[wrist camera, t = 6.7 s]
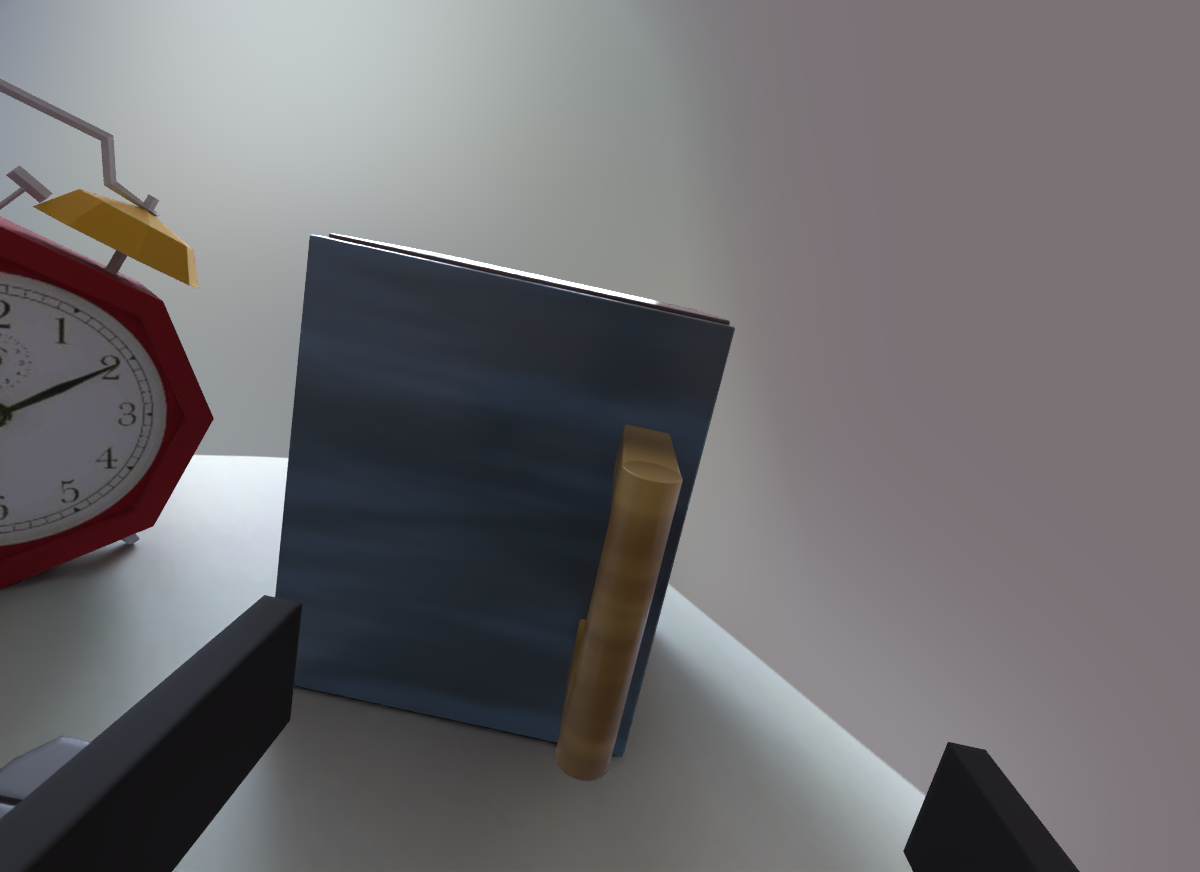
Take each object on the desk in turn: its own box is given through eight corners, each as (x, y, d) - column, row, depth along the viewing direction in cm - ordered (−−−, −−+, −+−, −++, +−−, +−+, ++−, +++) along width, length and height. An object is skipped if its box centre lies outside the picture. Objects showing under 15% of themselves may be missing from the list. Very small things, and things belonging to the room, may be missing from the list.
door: (620, 902, 18) (777, 343, 14) (154, 801, 18) (181, 212, 14) (622, 739, 25) (730, 325, 21) (280, 664, 25) (324, 236, 21)
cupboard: (622, 738, 25) (730, 320, 21) (284, 664, 25) (328, 232, 21) (624, 603, 36) (697, 309, 32) (387, 552, 36) (430, 251, 32)
